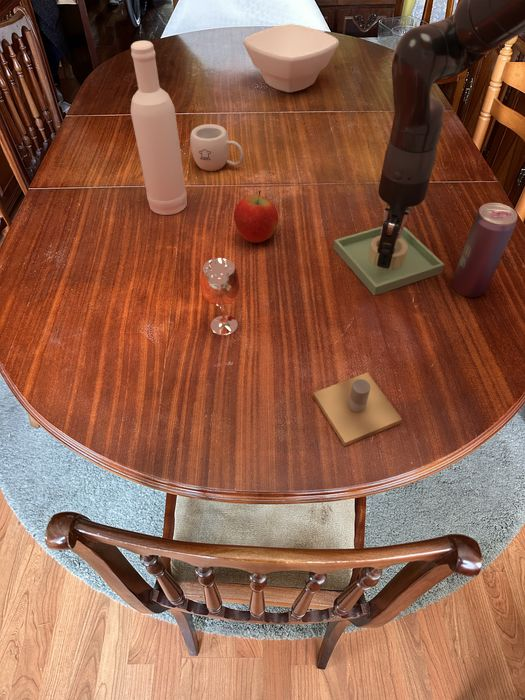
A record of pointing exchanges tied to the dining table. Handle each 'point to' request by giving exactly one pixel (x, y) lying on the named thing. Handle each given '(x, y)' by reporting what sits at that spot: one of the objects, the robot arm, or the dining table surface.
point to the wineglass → (220, 291)
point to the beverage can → (484, 249)
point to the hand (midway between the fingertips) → (388, 252)
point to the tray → (377, 280)
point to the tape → (398, 254)
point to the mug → (212, 147)
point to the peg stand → (356, 408)
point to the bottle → (156, 135)
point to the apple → (256, 218)
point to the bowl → (290, 55)
